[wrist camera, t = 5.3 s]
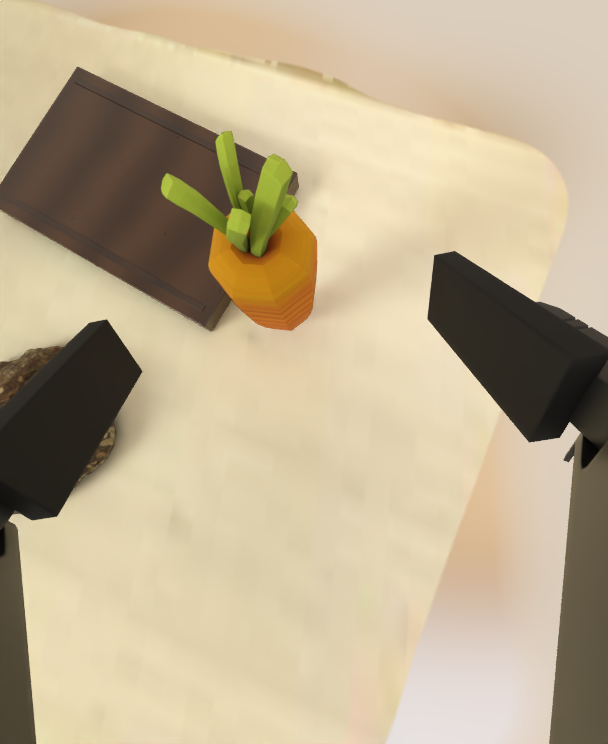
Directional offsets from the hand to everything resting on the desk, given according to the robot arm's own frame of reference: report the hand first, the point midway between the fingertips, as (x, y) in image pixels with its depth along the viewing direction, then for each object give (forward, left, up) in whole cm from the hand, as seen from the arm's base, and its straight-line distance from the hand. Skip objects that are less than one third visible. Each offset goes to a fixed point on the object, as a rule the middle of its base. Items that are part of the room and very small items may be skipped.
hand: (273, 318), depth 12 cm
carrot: (-2, +2, -11) cm, 11 cm away
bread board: (-18, +5, -11) cm, 22 cm away
